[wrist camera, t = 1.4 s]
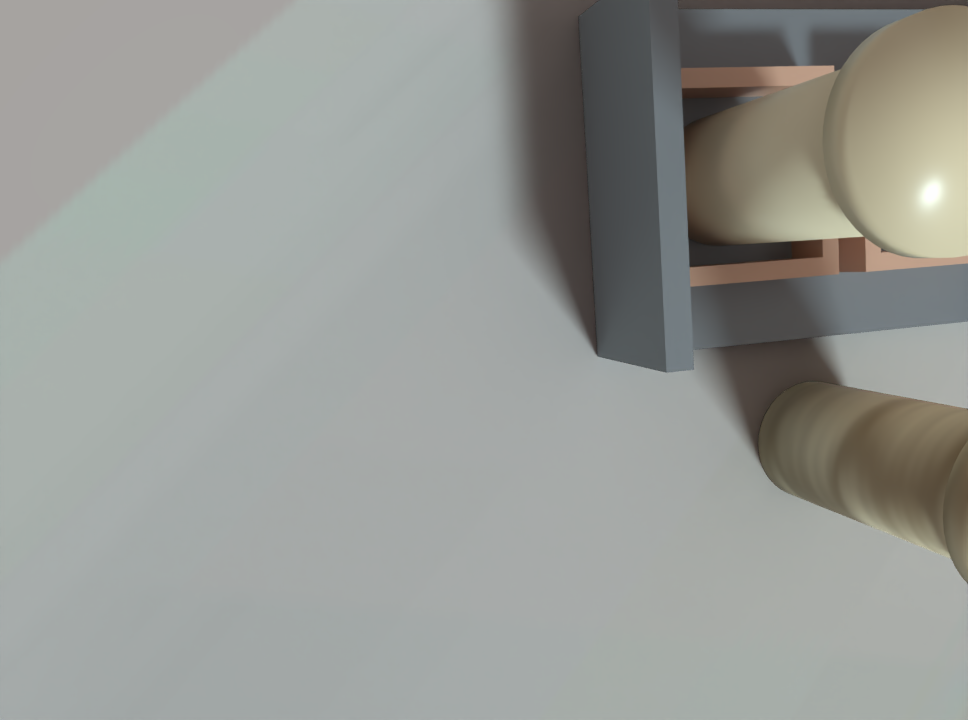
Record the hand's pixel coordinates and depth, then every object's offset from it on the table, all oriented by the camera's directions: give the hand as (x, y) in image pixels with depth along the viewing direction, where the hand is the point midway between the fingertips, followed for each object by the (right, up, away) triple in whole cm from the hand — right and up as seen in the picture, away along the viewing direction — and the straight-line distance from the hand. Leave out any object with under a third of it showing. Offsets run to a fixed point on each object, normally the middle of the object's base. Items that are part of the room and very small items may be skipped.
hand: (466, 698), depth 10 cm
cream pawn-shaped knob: (+14, +1, +27) cm, 31 cm away
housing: (+13, +11, +26) cm, 32 cm away
